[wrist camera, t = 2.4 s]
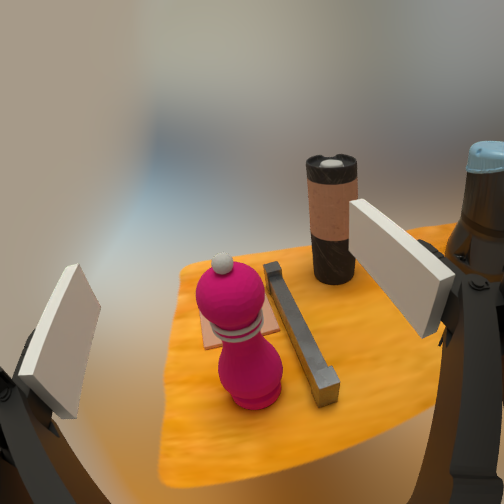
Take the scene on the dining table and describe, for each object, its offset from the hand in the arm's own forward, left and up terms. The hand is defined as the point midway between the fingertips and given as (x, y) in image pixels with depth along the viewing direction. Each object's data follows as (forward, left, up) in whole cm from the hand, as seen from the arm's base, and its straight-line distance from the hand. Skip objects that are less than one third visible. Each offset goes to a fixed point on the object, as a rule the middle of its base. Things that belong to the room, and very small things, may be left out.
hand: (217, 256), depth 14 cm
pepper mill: (+6, -7, -26) cm, 27 cm away
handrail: (+5, -17, -25) cm, 31 cm away
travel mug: (+4, -32, -26) cm, 41 cm away
